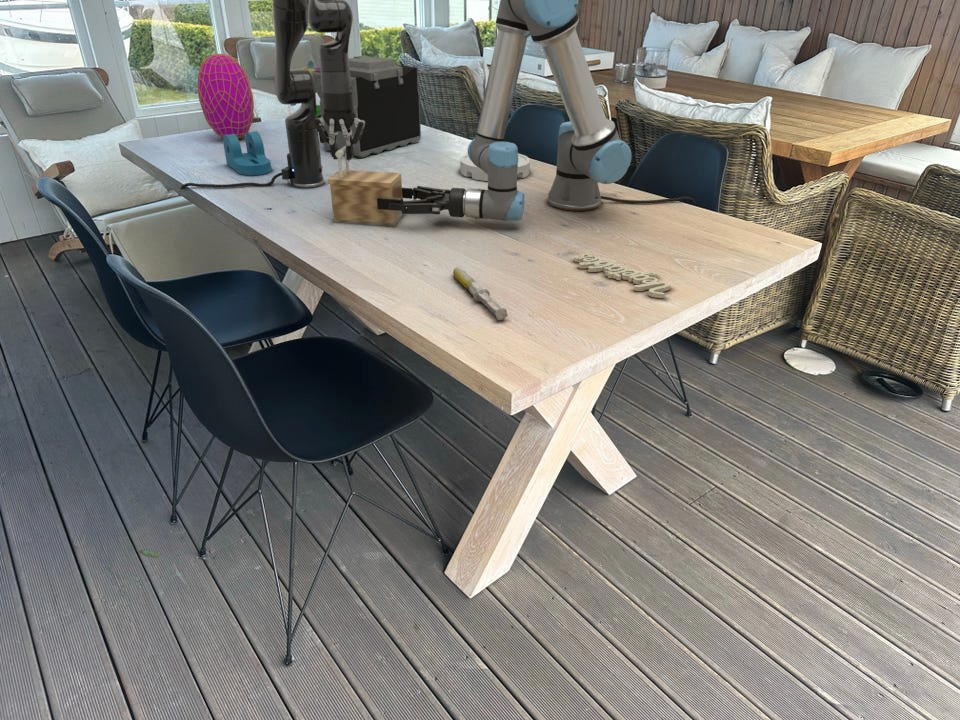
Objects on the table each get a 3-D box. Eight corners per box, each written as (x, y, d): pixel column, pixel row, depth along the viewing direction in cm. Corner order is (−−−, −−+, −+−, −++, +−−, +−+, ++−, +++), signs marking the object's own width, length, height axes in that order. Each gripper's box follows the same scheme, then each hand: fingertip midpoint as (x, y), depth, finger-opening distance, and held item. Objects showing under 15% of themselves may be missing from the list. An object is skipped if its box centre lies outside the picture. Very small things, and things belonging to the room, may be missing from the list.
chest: (333, 222, 185) (329, 184, 179) (345, 211, 193) (342, 174, 188) (393, 226, 182) (391, 188, 177) (403, 214, 190) (401, 178, 185)
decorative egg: (223, 147, 254) (207, 59, 238) (197, 138, 265) (180, 54, 250) (268, 138, 266) (256, 54, 251) (241, 130, 277) (228, 49, 262)
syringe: (449, 274, 155) (449, 263, 153) (465, 272, 156) (464, 260, 154) (490, 323, 135) (491, 310, 133) (508, 319, 136) (508, 307, 134)
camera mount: (227, 164, 233) (221, 132, 227) (257, 160, 238) (252, 129, 233) (244, 176, 220) (239, 143, 215) (276, 172, 225) (271, 139, 220)
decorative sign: (686, 282, 150) (660, 295, 144) (686, 286, 150) (659, 300, 144) (592, 249, 166) (565, 259, 160) (592, 253, 167) (565, 263, 161)
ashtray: (462, 161, 239) (462, 150, 237) (528, 163, 239) (529, 151, 237) (458, 180, 219) (458, 168, 217) (530, 182, 219) (531, 169, 217)
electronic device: (383, 133, 276) (378, 52, 261) (425, 141, 265) (422, 56, 250) (314, 150, 251) (304, 61, 235) (358, 160, 240) (350, 67, 224)
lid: (327, 184, 179) (324, 152, 175) (340, 174, 188) (337, 143, 183) (391, 188, 177) (389, 155, 173) (401, 177, 185) (399, 146, 181)
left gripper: (304, 90, 169) (312, 161, 178) (358, 93, 167) (364, 164, 176) (315, 86, 176) (322, 154, 184) (368, 88, 174) (373, 157, 182)
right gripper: (456, 231, 173) (371, 225, 176) (472, 204, 192) (395, 199, 195) (456, 201, 169) (369, 196, 172) (473, 177, 188) (394, 172, 191)
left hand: (342, 158), depth 180 cm, fingers open, 3 cm apart
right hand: (383, 197), depth 184 cm, fingers closed on chest, 10 cm apart
